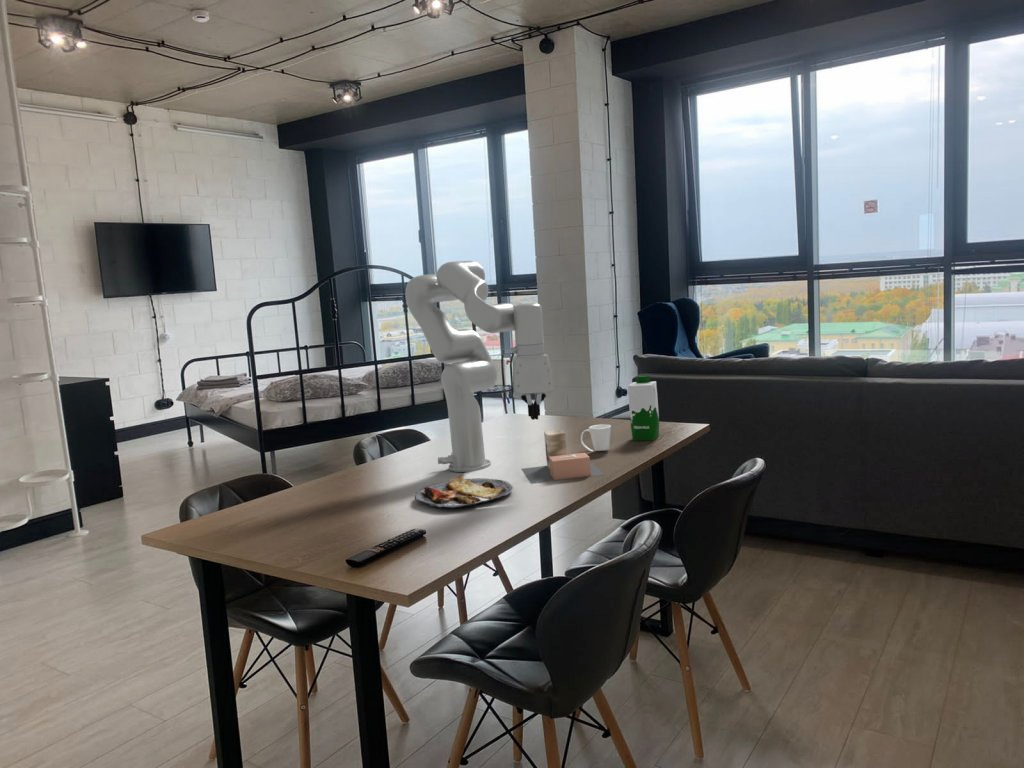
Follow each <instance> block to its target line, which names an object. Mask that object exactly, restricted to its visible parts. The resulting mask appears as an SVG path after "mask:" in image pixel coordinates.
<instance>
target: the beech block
mask: <svg viewBox="0 0 1024 768" xmlns="http://www.w3.org/2000/svg"><path fill="white" fill-rule="evenodd" d="M543 436H544V445H545V446H544V447H545V448H544V449H545V458H546V466H548V467H549V469H550V464H549V457H552V456H560V455H568V451H567V450H568V449H567V439H566V432H565V431H564V430H563V429H554V430H553V429H552V430H545V431H543Z"/></svg>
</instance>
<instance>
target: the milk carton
mask: <svg viewBox="0 0 1024 768" xmlns="http://www.w3.org/2000/svg"><path fill="white" fill-rule="evenodd" d="M627 392H628V393H627V395H628V407H629V421H630V431H631V437H632V441H655V440H657V438H658V437H659V436H660V414H659V402H658V399H659V398H658V389H657V381H656V380H655V381H652V380H651V381H650V374H649V375H647V374H643V375H637V376H636V381H635V382H634V381H633V382H632V383H629V384H628V385H627Z"/></svg>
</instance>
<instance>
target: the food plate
mask: <svg viewBox="0 0 1024 768" xmlns="http://www.w3.org/2000/svg"><path fill="white" fill-rule="evenodd" d="M513 490H514V486H513V485H512V483H510V482H509V481H506V480H502V479H495V478H494V479H493V478H492V479H491V478H484V477H483V478H481V477H480V478H475V477H474V478H465V477H464V476H463V475H458V476H456V477H455V478H453V479H452V480H447V481H442V482H439V483H433V484H430V485H427V486H425V487H422V488H421V489H419V490H418V491H416V492H415V495H414V500H417V501H420V502H421V503H425V504H427V505H429V506H430V507H433V508H434V507H437V508H442V507H443V508H453V509H454V508H465V507H470V506H472V507H473V506H475V505H477V504H481V503H484V502H485V503H486V502H487V503H488V502H489V501H492V500H495V499H496V500H497V499H498V498H501V497H503V496H507V495H509V494H510V493H511V492H512V491H513ZM480 498H482V499H486V500H482V499H480Z"/></svg>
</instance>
